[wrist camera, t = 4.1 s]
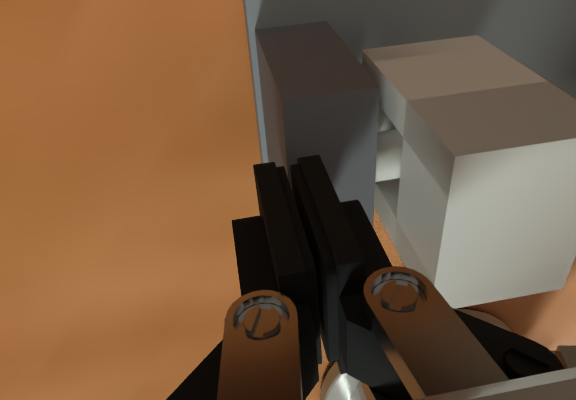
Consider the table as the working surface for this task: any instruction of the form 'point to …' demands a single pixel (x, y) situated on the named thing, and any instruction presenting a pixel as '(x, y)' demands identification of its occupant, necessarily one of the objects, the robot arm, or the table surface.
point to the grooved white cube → (477, 169)
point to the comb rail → (357, 81)
